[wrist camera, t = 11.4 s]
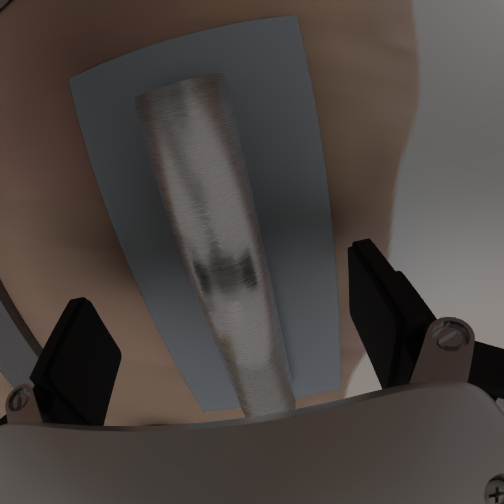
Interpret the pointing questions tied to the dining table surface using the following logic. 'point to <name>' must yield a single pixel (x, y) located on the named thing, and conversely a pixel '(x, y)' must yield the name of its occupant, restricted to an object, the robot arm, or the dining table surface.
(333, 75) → the dining table surface
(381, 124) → the dining table surface
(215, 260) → the grey metallic bar
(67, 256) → the dining table surface
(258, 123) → the slate mat
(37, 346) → the hook stand
